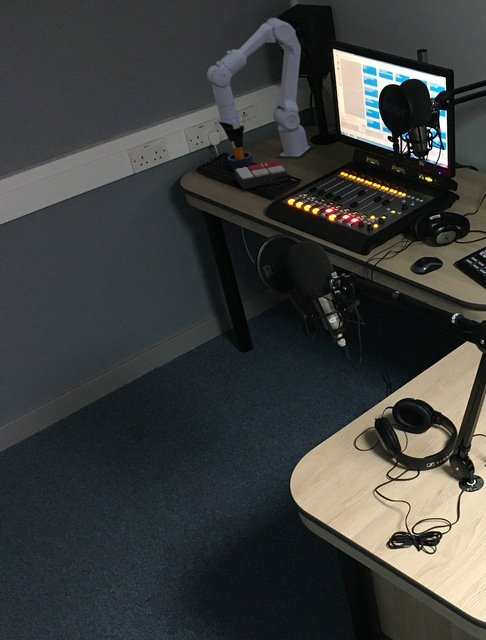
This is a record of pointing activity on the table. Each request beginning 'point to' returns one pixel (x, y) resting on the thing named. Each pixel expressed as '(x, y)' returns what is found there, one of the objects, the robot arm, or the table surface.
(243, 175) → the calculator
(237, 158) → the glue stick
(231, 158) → the dark blue round bowl
